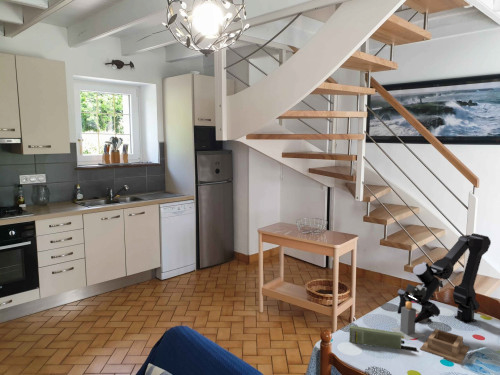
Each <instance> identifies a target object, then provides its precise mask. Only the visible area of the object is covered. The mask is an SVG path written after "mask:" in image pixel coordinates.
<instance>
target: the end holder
mask: <svg viewBox="0 0 500 375" xmlns="http://www.w3.org/2000/svg"><path fill="white" fill-rule="evenodd" d="M469 349H470V345H466V344H464V336H462V335H458V334H455V333H451V332H448V331H444V330H440V329H438V328H435V329H433V331H432V332H431V333H430V335H429V336H428V338H427V339H426V340H425V341H424V343H423V344H422V345H421V346H420V349H419V350H420V351H423V352H427V353H430V354H432V355H435V356H438V357H441V358H443V359H444V360H446V361H450V362H453V363H455V364H458V365H462V363H463V361H464V359H465V357H466V355H467V354H468V352H469Z"/></svg>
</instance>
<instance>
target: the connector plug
mask: <svg viewBox="0 0 500 375" xmlns="http://www.w3.org/2000/svg"><path fill="white" fill-rule="evenodd" d="M412 307H413V301H412V302H409V301H407V302H406V306H405V307H401V313H400V326H399V327H400V331H401V332H403V333H404V334H406V335H411V334H415V330H416V323H415V322H414V321H415V319H416V309H417V308H416V309H414V308H415V307H413V308H412Z"/></svg>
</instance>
